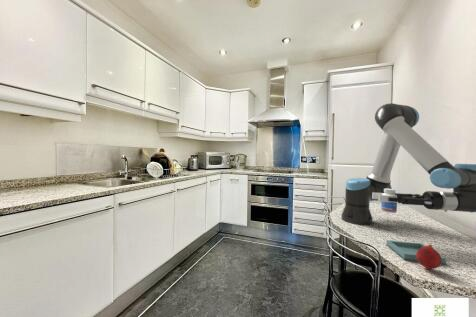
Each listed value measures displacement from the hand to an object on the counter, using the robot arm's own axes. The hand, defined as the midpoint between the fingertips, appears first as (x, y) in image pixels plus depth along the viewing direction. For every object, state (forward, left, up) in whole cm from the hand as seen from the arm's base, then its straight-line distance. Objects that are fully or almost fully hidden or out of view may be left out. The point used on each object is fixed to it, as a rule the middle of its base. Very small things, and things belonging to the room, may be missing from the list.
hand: (375, 196), depth 90 cm
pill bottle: (0, +5, -6) cm, 8 cm away
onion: (+25, +5, -18) cm, 31 cm away
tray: (+14, +7, -18) cm, 24 cm away
